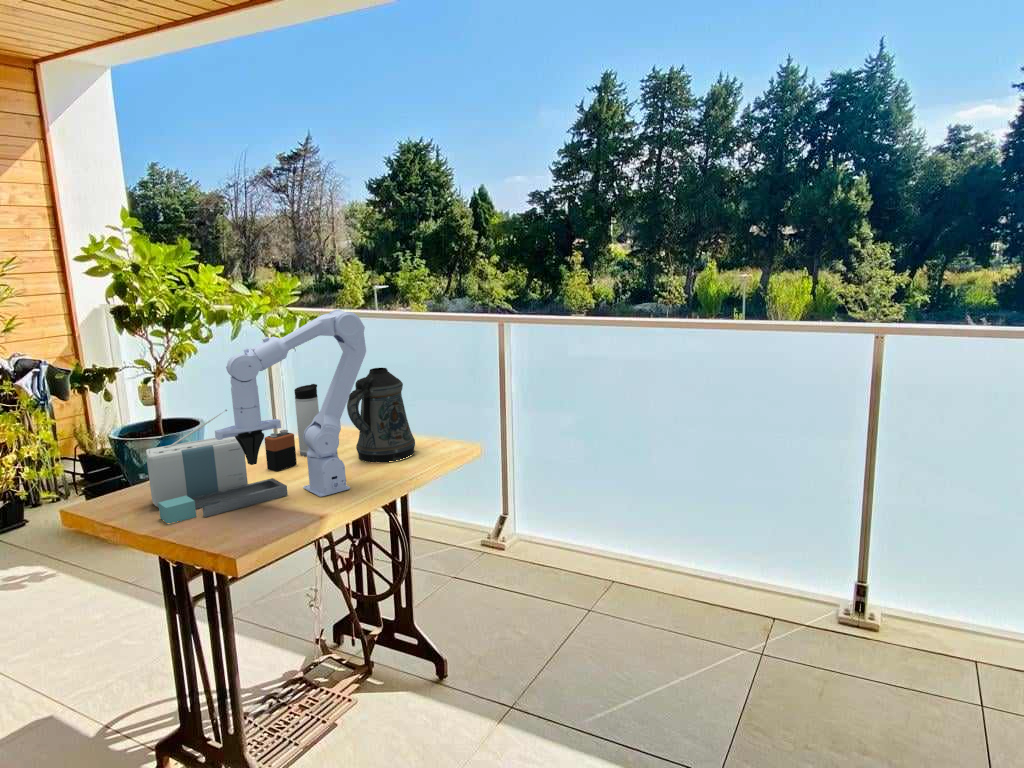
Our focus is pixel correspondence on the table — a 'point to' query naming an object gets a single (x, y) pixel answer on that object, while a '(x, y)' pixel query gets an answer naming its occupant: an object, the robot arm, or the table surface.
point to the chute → (240, 496)
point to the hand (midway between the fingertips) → (252, 463)
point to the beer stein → (380, 418)
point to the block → (177, 509)
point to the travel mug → (305, 411)
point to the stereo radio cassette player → (195, 467)
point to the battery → (280, 451)
